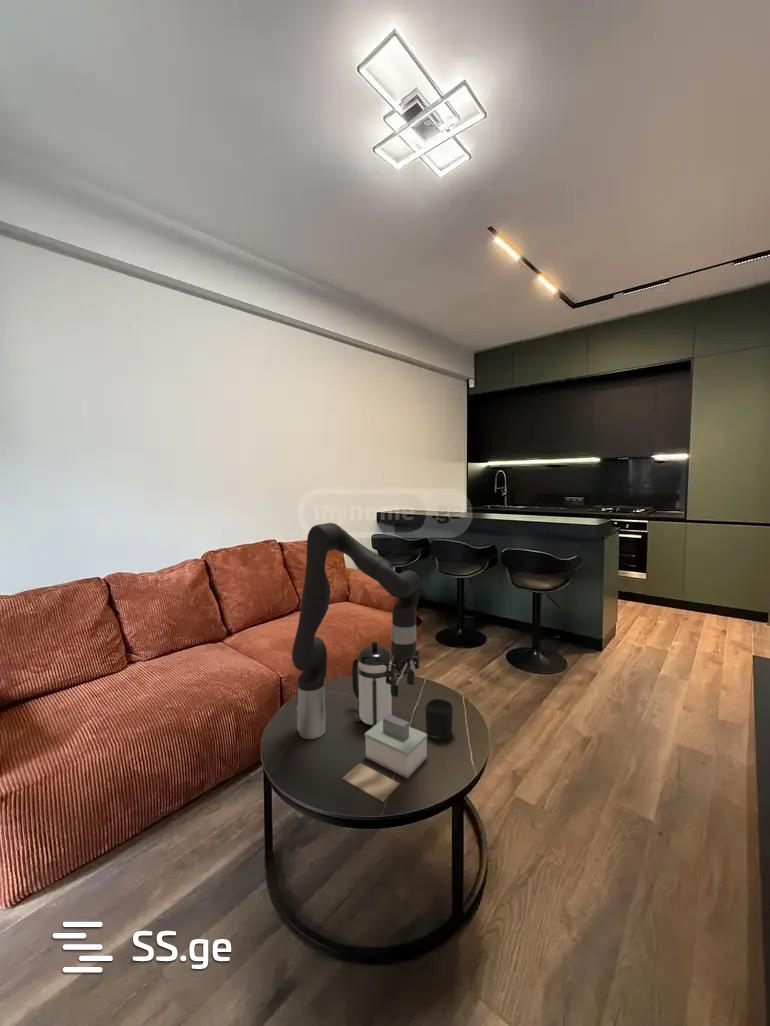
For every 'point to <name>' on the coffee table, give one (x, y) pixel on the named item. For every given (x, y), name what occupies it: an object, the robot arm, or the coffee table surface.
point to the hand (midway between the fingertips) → (402, 689)
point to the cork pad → (371, 782)
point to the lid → (396, 735)
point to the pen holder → (439, 719)
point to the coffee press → (372, 684)
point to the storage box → (396, 757)
